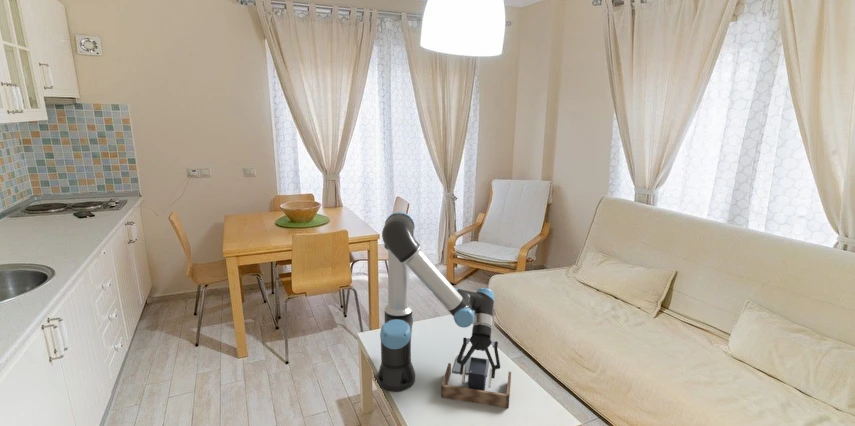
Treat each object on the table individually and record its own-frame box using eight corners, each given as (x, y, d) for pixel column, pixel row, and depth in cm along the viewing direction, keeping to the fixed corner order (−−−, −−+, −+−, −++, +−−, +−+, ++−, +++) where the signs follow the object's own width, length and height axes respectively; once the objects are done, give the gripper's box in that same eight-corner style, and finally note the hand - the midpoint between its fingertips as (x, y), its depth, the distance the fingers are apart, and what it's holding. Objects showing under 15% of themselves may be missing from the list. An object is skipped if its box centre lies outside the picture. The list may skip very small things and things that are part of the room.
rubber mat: (452, 372, 177) (452, 371, 177) (457, 356, 189) (457, 355, 188) (486, 377, 174) (486, 375, 174) (489, 360, 185) (489, 359, 185)
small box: (484, 399, 161) (485, 374, 159) (466, 397, 162) (467, 372, 160) (486, 382, 171) (487, 358, 169) (469, 380, 172) (470, 356, 170)
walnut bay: (440, 397, 162) (441, 385, 161) (448, 373, 176) (448, 363, 175) (508, 408, 156) (509, 396, 155) (510, 382, 171) (511, 371, 169)
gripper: (510, 332, 175) (505, 391, 163) (456, 326, 179) (448, 382, 168) (510, 327, 168) (505, 387, 157) (454, 320, 173) (446, 378, 162)
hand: (476, 385), depth 163 cm, fingers open, 9 cm apart
